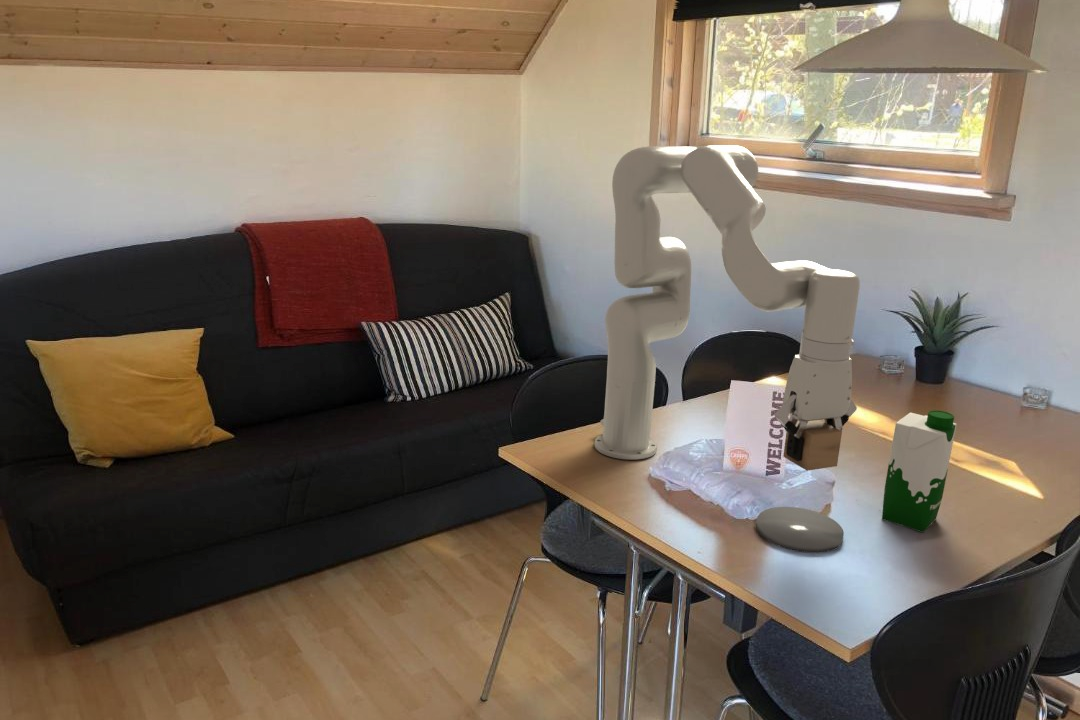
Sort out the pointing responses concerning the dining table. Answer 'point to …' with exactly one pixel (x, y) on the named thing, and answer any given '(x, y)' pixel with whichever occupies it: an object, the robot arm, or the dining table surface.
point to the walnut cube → (818, 446)
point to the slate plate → (799, 529)
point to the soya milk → (918, 469)
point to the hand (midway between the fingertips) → (810, 454)
